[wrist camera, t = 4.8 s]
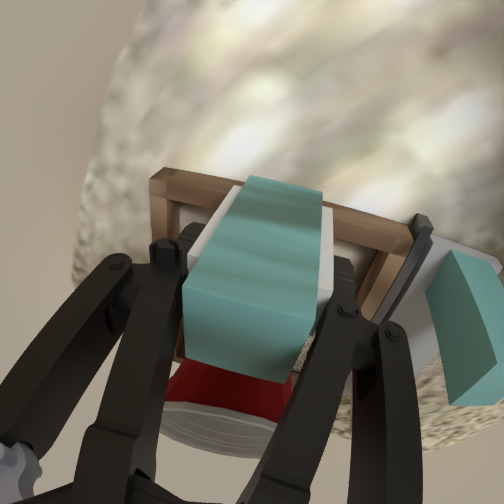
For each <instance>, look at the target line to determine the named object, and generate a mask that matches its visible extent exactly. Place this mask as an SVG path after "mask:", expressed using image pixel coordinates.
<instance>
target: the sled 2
mask: <svg viewBox="0 0 504 504" xmlns="http://www.w3.org/2000/svg"><path fill="white" fill-rule="evenodd" d="M502 268H503V267H502V265H501V264H500V262H499V261H498V259H497V258H496V257H493V256H491V255H488V254H485V253H483V252H480V251H477V250H475V249H472V248H469V247H467V246H464V245H461V244H458V243H455V242H452V241H450V240H447V239H444V238H441V237H438V236H435V235H432V234H431V235H430V237H429V239H428V241H427V243H426V245H425V247H424V249H423V251H422V253H421V255H420V257H419V259H418V260H417V262H416V264H415V266H414V268H413V270H412V271H411V273H410V275H409V277H408V279H407V280H406V282H405V284H404V286H403V287H402V289H401V291H400V292H399V294H398V296H397V297H396V299H395V301H394V302H393V304H392V306H391V307H390V309H389V310H388V312H387V314H386V315H385V317H384V318H383V320H382V321H381V323H382V322H384V321H393V322H396V323H398V324H399V325H400V326H402V328H403V329H404V330H405V332H406V334H407V338H408V343H409V348H410V353H411V359H412V365H413V371H414V378H415V377H416V376H417V375H418V374H419V373H420V372H421V371H422V370H423V369H424V368H425V367H426V366H427V365H428V363H429V362H430V361H431V360H432V359H433V358H434V357H435V356H436V355H437V354H438V353H439V352H440V355H441V359H442V364H443V370H444V375H445V381H446V387H447V393H448V400H449V406H484V405H494V404H496V403H497V402H498V401H499V400H501V399H502V398H503V397H504V286H503V285H502V283H501V281H500V279H499V277H498V274H499V273H500V271H501V270H502ZM381 323H380V324H381ZM380 324H379V325H380ZM342 395H343V396H350V397H351V396H352V367H351V366H350V369H349V373H348V376H347V380H346V384H345V387H344V391H343V394H342Z"/></svg>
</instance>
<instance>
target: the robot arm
mask: <svg viewBox="0 0 504 504" xmlns="http://www.w3.org/2000/svg"><path fill="white" fill-rule="evenodd" d="M241 188H242V187H241V186H236V185H234V186H233V187H232V189H231V190H230V192H229V193H228V195H227V196H226V197H225V199H224V200H223V202H222V203H221V205H220V206H219V208H218V209H217V210H216V212H215V213H214V215H213V216H212V218H211V219H210V221H209V222H208V224H207V225H205V224H201V223H196V222H193V223H191V224H189V225H187V226H186V227H185V228H184V230H183V231H182V232H181V234H180V235H179V236H178V238H177V239H176V240H175V239H171V238H162V239H157V240H155V241H154V242H152V243H151V244H150V246H149V251H150V262H151V263H149V264H134V263H132V260H131V258H130V257H129V256H128V255H126V254H122V253H115V254H112V255H109V256H107V257H106V258H105V259H104V260H103V261H102V262H101V263H100V264H99V265H98V266H97V267H96V268H95V269H94V270H93V271H92V272H91V273H90V274H89V275H88V276H87V278H86V279H85V280H84V281H83V282H82V283H81V284H80V285H79V286H78V287H77V289H76V290H75V291H74V292H73V293H72V294H71V295H70V297H69V298H68V299H67V300H66V301H65V302H64V303H63V304H62V306H61V307H60V308H59V309H58V310H57V312H56V313H55V314H54V315H53V316H52V317H51V319H50V320H49V321H48V322H47V324H46V325H45V326H44V327H43V329H42V330H41V331H40V332H39V333H38V335H37V336H36V337H35V338H34V340H33V341H32V342H31V343H30V345H29V346H28V347H27V349H26V350H25V351H24V353H23V354H22V355H21V357H20V358H19V360H18V361H17V362H16V363H15V365H14V366H13V368H12V369H11V370H10V372H9V373H8V375H7V376H6V377H5V379H4V380H3V382H2V383H1V385H0V504H221V503H201V502H200V503H199V502H188V501H184V500H182V499H180V498H178V497H177V496H175V495H173V494H172V493H170V492H169V491H167V490H165V489H164V488H162V487H161V486H159V485H158V484H156V483H155V482H154V481H155V473H156V448H157V442H158V436H159V430H160V424H161V419H162V413H163V407H164V402H165V397H166V391H167V386H168V381H169V375H170V371H171V366H172V361H173V356H174V351H175V347H176V342H177V338H178V333H179V328H180V324H181V320H182V315H183V297H182V286H183V284H184V282H185V280H186V279H187V277H188V275H189V274H190V272H191V270H192V268H193V267H194V265H195V263H196V262H197V260H198V258H199V257H200V255H201V253H202V252H203V250H204V248H205V247H206V245H207V243H208V242H209V240H210V238H211V237H212V235H213V233H214V232H215V230H216V228H217V227H218V225H219V224H220V222H221V220H222V219H223V217H224V215H225V214H226V212H227V211H228V209H229V207H230V206H231V204H232V203H233V201H234V199H235V198H236V196H237V195H238V193H239V191H240V190H241ZM354 281H355V278H354V267H353V265H352V263H351V262H350V260H349V259H347V258H343V257H339V256H335V255H333V208H329V207H325V206H322V225H321V247H320V265H319V280H318V294H317V306H316V317H315V322H314V324H313V327H312V329H311V331H310V333H309V335H311V336H313V334H314V332H315V330H316V333H315V338H314V340H313V342H312V344H311V346H310V348H309V350H308V352H307V357H306V360H305V362H304V364H303V367H302V369H301V372H300V374H299V377H298V379H297V382H296V384H295V386H294V389H293V391H292V393H291V396H290V398H289V400H288V402H287V405H286V407H285V409H284V411H283V414H282V416H281V418H280V420H279V422H278V425H277V427H276V429H275V431H274V433H273V435H272V437H271V439H270V441H269V444H268V446H267V448H266V450H265V452H264V454H263V456H262V458H261V460H260V462H259V464H258V465H257V467H256V469H255V471H254V473H253V475H252V477H251V479H250V481H249V482H248V484H247V486H246V487H245V489H244V490H243V492H242V493H241V495H240V497H239V499H238V500H237V502H236V504H308V503H309V500H310V495H311V494H310V486H311V483H312V480H313V478H314V475H315V472H316V470H317V468H318V465H319V463H320V460H321V457H322V455H323V452H324V449H325V446H326V444H327V441H328V438H329V435H330V432H331V429H332V426H333V423H334V420H335V417H336V414H337V411H338V407H339V404H340V401H341V398H342V394H343V391H344V387H345V384H346V380H347V376H348V373H349V369H350V366H351V367H352V445H351V462H350V477H349V488H348V499H347V504H422V501H423V465H422V443H421V429H420V418H419V408H418V400H417V392H416V384H415V378H414V371H413V365H412V359H411V353H410V348H409V343H408V338H407V334H406V332H405V330H404V329H403V328H402V326H400V325H399V324H398V323H396V322H393V321H384V322H382V323H381V324H380V325H377V324H375V323H373V322H371V321H369V320H368V319H366V318H365V317H363V316H362V311H361V309H360V308H359V306H358V305H357V304H356V293H355V282H354ZM122 333H123V335H122ZM121 335H122V338H121V342H120V344H119V347H118V350H117V353H116V356H115V359H114V362H113V365H112V368H111V371H110V374H109V377H108V381H107V384H106V387H105V391H104V394H103V397H102V401H101V404H100V408H99V411H98V415H97V418H96V421H95V422H94V423H93V424H92V425H90V426H89V427H88V428H87V429H86V431H85V434H84V437H83V441H82V445H81V449H80V453H79V457H78V462H77V466H76V471H75V476H74V481H73V482H72V483H69V484H67V485H64V486H61V487H59V488H56V489H53V490H51V491H48V492H45V493H42V494H39V495H36V496H34V493H33V486H34V483H35V481H36V479H37V478H39V477H41V475H42V469H41V467H40V465H39V460H40V459H41V458H42V457H43V456H44V455H45V454H46V453H47V451H48V450H49V449H50V448H51V447H52V445H53V443H54V442H55V440H56V439H57V437H58V435H59V433H60V431H61V430H62V428H63V427H64V425H65V423H66V422H67V420H68V418H69V417H70V414H71V413H72V412H73V410H74V408H75V407H76V405H77V403H78V402H79V400H80V398H81V397H82V395H83V393H84V392H85V390H86V389H87V387H88V385H89V384H90V382H91V381H92V379H93V378H94V376H95V374H96V373H97V371H98V370H99V368H100V367H101V365H102V363H103V362H104V360H105V359H106V357H107V356H108V354H109V353H110V351H111V350H112V348H113V347H114V345H115V344H116V342H117V341H118V339H119V338H120V336H121Z"/></svg>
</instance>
